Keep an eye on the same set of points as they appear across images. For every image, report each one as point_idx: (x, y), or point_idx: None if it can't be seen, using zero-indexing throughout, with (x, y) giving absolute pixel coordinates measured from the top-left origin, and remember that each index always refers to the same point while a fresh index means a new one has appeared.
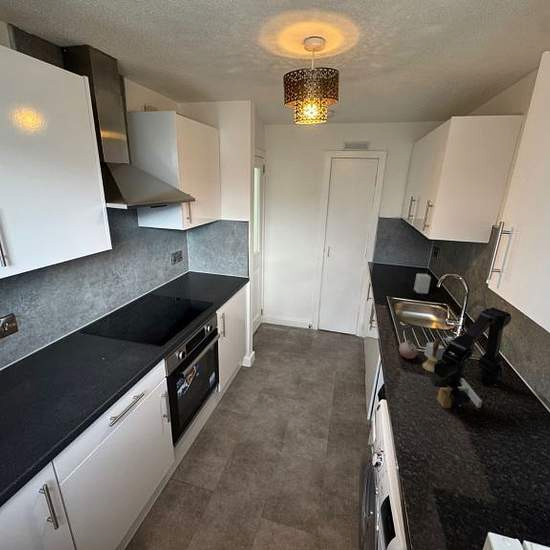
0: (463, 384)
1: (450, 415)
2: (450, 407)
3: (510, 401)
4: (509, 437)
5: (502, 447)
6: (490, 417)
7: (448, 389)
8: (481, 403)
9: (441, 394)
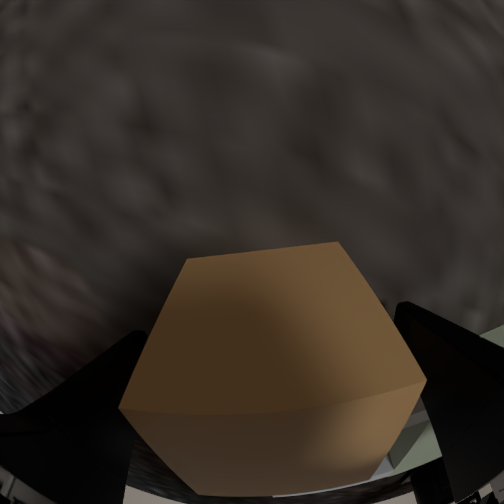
0: (433, 452)
1: (93, 293)
2: (132, 338)
3: (327, 498)
4: None
5: None
6: None
7: (346, 466)
8: None
9: (285, 331)
